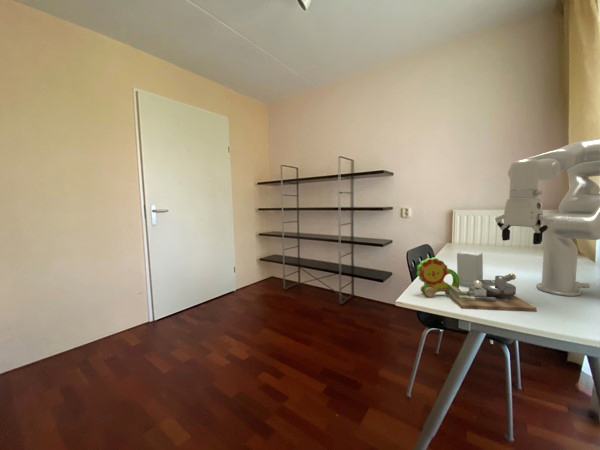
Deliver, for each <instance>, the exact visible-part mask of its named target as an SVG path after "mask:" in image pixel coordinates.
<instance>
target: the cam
mask: <svg viewBox="0 0 600 450" xmlns="http://www.w3.org/2000/svg"><path fill="white" fill-rule="evenodd" d="M516 278H517V275H516V274H515V273H508V274H506V275H495V277H494V279H483V280H479V281H481V282H482V284H483V286H482V288H484V289H485V290H486V293H487V294H491V295H494V296H495V297H497V298H501V299H504V298H505V297H506V296H516V291H517V286H515V285H514V284H512V283H509V282H510V281H513V280H515V279H516Z"/></svg>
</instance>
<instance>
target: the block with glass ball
mask: <svg viewBox="0 0 600 450" xmlns="http://www.w3.org/2000/svg"><path fill="white" fill-rule="evenodd" d="M482 286H483V284H482V282H481V281H479V280H475V281H474V282H473V286H469V287H468V291H469V296H471V297H486V290H485V289H484V288H482Z"/></svg>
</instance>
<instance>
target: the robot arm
mask: <svg viewBox="0 0 600 450" xmlns="http://www.w3.org/2000/svg"><path fill="white" fill-rule="evenodd" d="M563 171H566V172H567V176H568V177H567V178H568V181H569V189H568V190H567V192H566V193H565V195H564V197H563V198H562V200H561V202H560V203H559V205H558V212H559V213H558V212H557V213H551V214H548V215H546V216H544V214H543V204H542V200H541V198H538V197H539V196H542V195H543V192H542V190H539V188H538V187H539V181H549V180H553V179H554V178H556V177H558V176H559V174H560V173H561V172H563ZM507 176H508V178H509V198H508V199H506V203H505V206H504V212H503V214H502V215H500V216H497V217H495V219H494V220H495V222H496V224H497V226H498V227H499V228H500V230H501V238H502V241H504V242H505V241H510V238H511V230H510V228H511V227H522V228H523V227H524V228H525V227H527V228H532V230H533V231H534V232H533V238H532V239H533V240H532V244H534V245H540V244H542V242H543V257H542V260H543V261H542V273H541V277H542V278H541V283H537V284H536V289H538V290H540V291H542V292H545V293H548V294H553V295H556V296H557V295H558V296H564V297H577V296H578V297H579V296H580V295H582V293H581V291H582V290H581V291H580V289H581V288H582V289H590V287H591V285H590V284H589V283H587V282H582V283H580V281H577V268H578V256H579V254H578V253H579V249H578V247H577V246H578V245H576V244H575V242H574V241H573V239H575V240H576V239H577V240H587V241H588V240H589V241H597V240H600V186H599V184H598V183H596V182H595V181H594V180H592V179H590V178H592V177H600V137H598V138H591V139H587V140H586V139H585V140H579V141H575V142H572V143H569V144H567V145H564V146H562V147H559V148H556V149H554V150H550V151H547V152H544V153H541V154H537V155H534V156H530V157H527V158H523V159H519V160H515V161H513V162H511V164H510V167H509V168H508V171H507ZM502 220H503V221H502Z"/></svg>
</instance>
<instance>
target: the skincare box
mask: <svg viewBox="0 0 600 450" xmlns="http://www.w3.org/2000/svg"><path fill="white" fill-rule="evenodd" d="M456 265H457V266H456V267H457V268H456V269H457V271H456V273H457V275H458V277H459V286H464V287H468V288H469V286H473V282H474V281H475V280H484V278H483V277H484V274H483V273H484V272H483V271H484V269H483V268H484V265H483V252H475V251H466V250H465V251H464V250H462V251H458V252H457V253H456Z"/></svg>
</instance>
